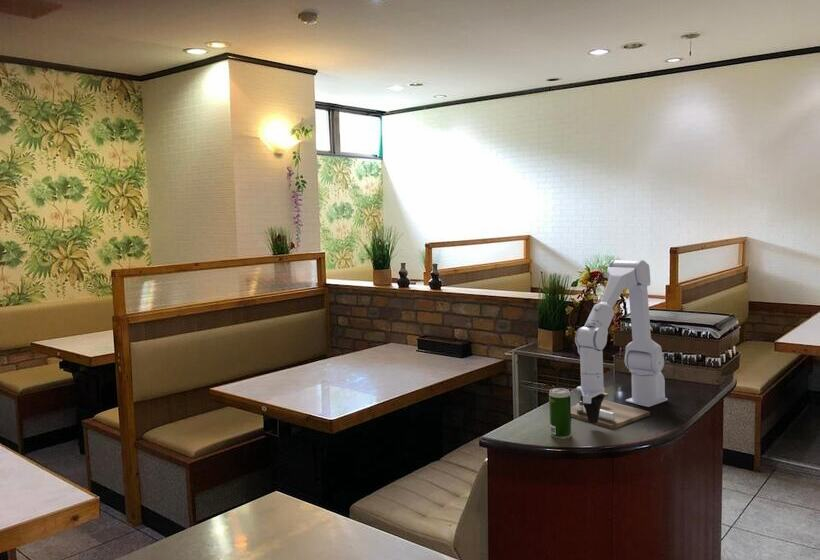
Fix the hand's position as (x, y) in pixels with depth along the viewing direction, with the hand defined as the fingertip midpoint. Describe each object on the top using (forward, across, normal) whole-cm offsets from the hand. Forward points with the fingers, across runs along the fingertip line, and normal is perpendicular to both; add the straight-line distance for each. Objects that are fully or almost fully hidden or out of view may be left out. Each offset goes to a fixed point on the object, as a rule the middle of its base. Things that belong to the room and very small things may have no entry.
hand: (593, 421), depth 173 cm
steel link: (0, -7, -1) cm, 7 cm away
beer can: (+2, +8, -7) cm, 10 cm away
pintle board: (+2, -12, +1) cm, 12 cm away
